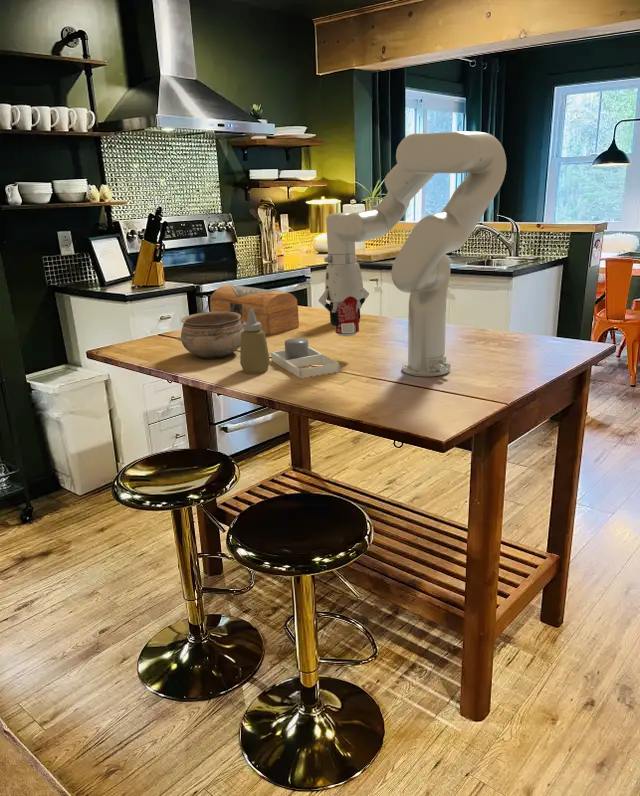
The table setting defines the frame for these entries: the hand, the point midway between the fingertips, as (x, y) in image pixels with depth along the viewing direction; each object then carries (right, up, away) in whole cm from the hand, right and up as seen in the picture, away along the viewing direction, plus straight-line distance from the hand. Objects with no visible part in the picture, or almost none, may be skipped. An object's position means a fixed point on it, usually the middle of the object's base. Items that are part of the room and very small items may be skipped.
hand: (345, 323), depth 180 cm
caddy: (-12, -13, -4) cm, 18 cm away
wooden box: (-31, +4, +46) cm, 56 cm away
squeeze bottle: (-25, -15, -6) cm, 30 cm away
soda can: (+1, -3, +1) cm, 3 cm away
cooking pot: (-39, -9, +11) cm, 42 cm away
